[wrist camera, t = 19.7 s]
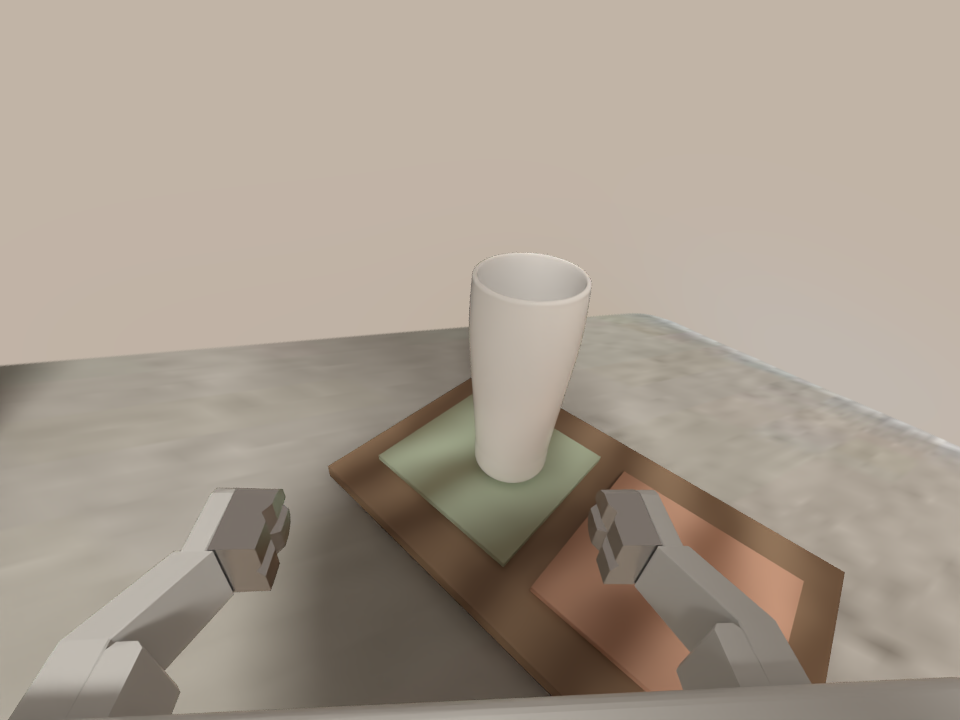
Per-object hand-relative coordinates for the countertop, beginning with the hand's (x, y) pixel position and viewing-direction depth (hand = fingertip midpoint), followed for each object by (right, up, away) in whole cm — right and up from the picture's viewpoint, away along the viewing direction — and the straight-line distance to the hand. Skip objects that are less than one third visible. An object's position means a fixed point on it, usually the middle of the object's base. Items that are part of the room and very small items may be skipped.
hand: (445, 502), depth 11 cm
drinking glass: (+3, -4, +21) cm, 22 cm away
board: (+7, -8, +19) cm, 21 cm away
